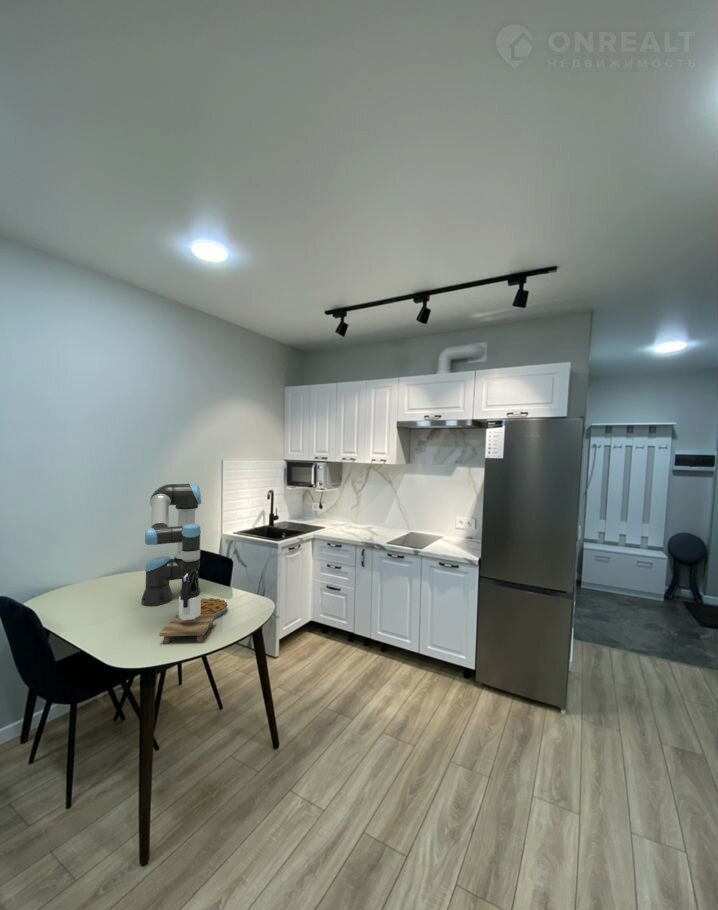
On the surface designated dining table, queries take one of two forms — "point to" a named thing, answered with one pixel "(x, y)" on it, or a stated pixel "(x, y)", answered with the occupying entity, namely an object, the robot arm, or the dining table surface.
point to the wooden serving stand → (188, 627)
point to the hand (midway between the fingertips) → (189, 610)
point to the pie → (213, 606)
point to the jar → (191, 604)
